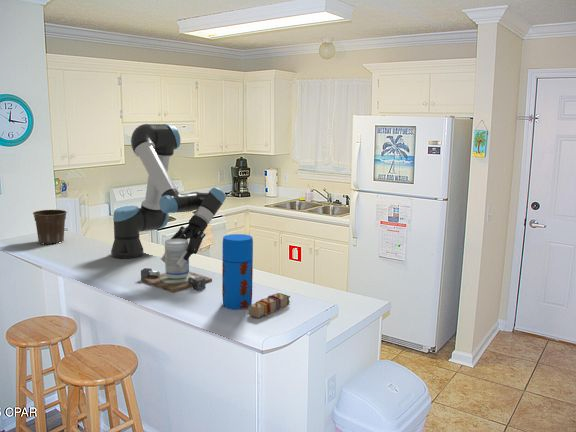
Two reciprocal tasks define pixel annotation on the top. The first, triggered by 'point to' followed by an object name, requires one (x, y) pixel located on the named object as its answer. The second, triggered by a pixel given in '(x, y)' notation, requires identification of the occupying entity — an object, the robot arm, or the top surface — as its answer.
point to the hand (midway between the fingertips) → (170, 263)
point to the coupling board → (173, 282)
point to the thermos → (237, 271)
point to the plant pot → (50, 225)
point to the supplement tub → (176, 258)
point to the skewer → (269, 305)
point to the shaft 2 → (197, 283)
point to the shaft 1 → (149, 273)
